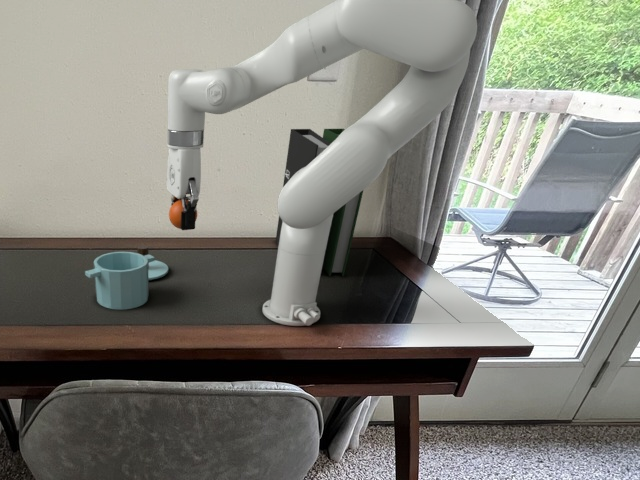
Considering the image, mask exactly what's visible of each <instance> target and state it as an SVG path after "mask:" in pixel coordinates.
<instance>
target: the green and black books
mask: <svg viewBox="0 0 640 480" xmlns="http://www.w3.org/2000/svg"><path fill="white" fill-rule="evenodd" d="M345 129H346V128H323V134H322V136H321V135H320V134H318V133H317V132H315V131H314V130H312V129H311V128H291V129H290V134H289V141H288V148H287V155H286V162H285V169H284V170H285V171H284V175H283V176H284V178H283V185H282V188H283V187H284V186H285V184H286V183H287V182H288V181H289V180H290V179H291V177H292V176H293V175H294V174H295V173H296V172H297V171H299V170H300V169H302V168H304V167H306V166H307V165H308V164H309V163H310V162H312V161H313V160H314V159H315V158H316V157H317V156H318V155H319V154H320V153H322V152H323V151H324V150H325V149H326V148H327V147H328V146H329V145H330V144H331V143H332V142H333V141H334V140H335V139H336V138H337V137H338V136H339V135H340V134H341V133H342V132H343V131H344V130H345ZM363 194H364V190H362V191H361V192H360V193H359V194H357V195H356V196H355V197H354V198H352V199H351V200H350V201H348V202H347V203H346V204H345V205H343V206H342V207H341V208H340V209H338V210H337V211H336V212H334V214H333V218H332V223H331V227H330V232H329V236H328V241H327V246H326V250H325V255H324V260H323V265H322V269H324V271H325V272H326V273H327V275H328V276H329V277H332V274H333V273H339V274H341V276H342V277H345V273H346V270H347V269H346V268H347V265H348V259H349V256H350V252H351V247H352V242H353V238H354V233H355V229H356V225H357V220H358V216H359V212H360V208H361V203H362V198H363ZM282 222H283V221H282V219H281V218H280V216H279V215H278V221H277V227H276V236H275V243H276V245H277V247H278V246H279V240H280V234H281V228H282Z"/></svg>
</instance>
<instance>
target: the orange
mask: <svg viewBox="0 0 640 480" xmlns="http://www.w3.org/2000/svg"><path fill="white" fill-rule="evenodd" d="M185 197H187V194H185ZM188 201H190V200H186V205H187V203H188ZM181 212H183V207H182V197H181V200H178V201H176V202H175V203H174V204H173V205H172V206H171V205H170V208H169V212H168V218H169V221H170V223H171V225H172V226H173V227H175V228H176V229H178V230H181ZM197 218H198V209H197V208H196V219H195V222H196V221H197Z"/></svg>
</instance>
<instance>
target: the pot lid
mask: <svg viewBox="0 0 640 480" xmlns="http://www.w3.org/2000/svg"><path fill="white" fill-rule="evenodd" d="M136 248H137V249H136V250H137V251H136V253H138V254H141V255H143V256H145V255H150V253H149V252H150V249H149V245H145V244H140V245H138V246H137V247H136ZM168 273H169V266H168V265H167V263H165V262H163V261H160V260H156V259H155V261H152V262H149V263H148V281H152V280H157V279H160V278H162V277H164V276H166V275H167V274H168Z"/></svg>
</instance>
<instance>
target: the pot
mask: <svg viewBox="0 0 640 480" xmlns="http://www.w3.org/2000/svg"><path fill="white" fill-rule="evenodd" d="M155 260H156V257H155V256H153V255H151V254H149V255H145V256H143V255H141V254H138V253H137V252H133V251H114V252H113V251H112V252H108V253H103V254H101V255H99V256H97V257H96V258H95V259H94V261H93V269H88V270H84V275H85V276H86V277H87V278H89V279H93V278H94V286H95V297H96V302H97V303H98V304H99V305H100V306H102V307H104V308H107V309H110V310H119V311H120V310H121V311H122V310H131V309H136V308H139V307H141V306H143V305H144V304H146V303H147V302H148V300H149V295H150V294H149V293H150V292H149V280H148V263H149V262H152V261H155Z"/></svg>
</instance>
